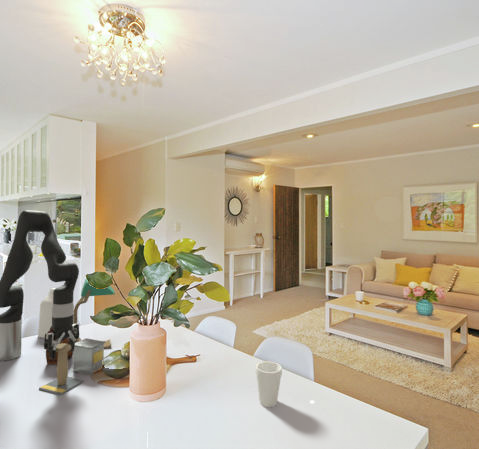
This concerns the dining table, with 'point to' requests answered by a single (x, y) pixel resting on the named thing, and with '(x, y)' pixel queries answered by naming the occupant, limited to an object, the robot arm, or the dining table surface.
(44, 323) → the milk
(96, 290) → the banker's lamp
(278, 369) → the foam cup
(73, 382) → the mat
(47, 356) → the wooden figurine
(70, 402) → the dining table surface
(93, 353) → the tin
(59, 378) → the handle
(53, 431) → the dining table surface
